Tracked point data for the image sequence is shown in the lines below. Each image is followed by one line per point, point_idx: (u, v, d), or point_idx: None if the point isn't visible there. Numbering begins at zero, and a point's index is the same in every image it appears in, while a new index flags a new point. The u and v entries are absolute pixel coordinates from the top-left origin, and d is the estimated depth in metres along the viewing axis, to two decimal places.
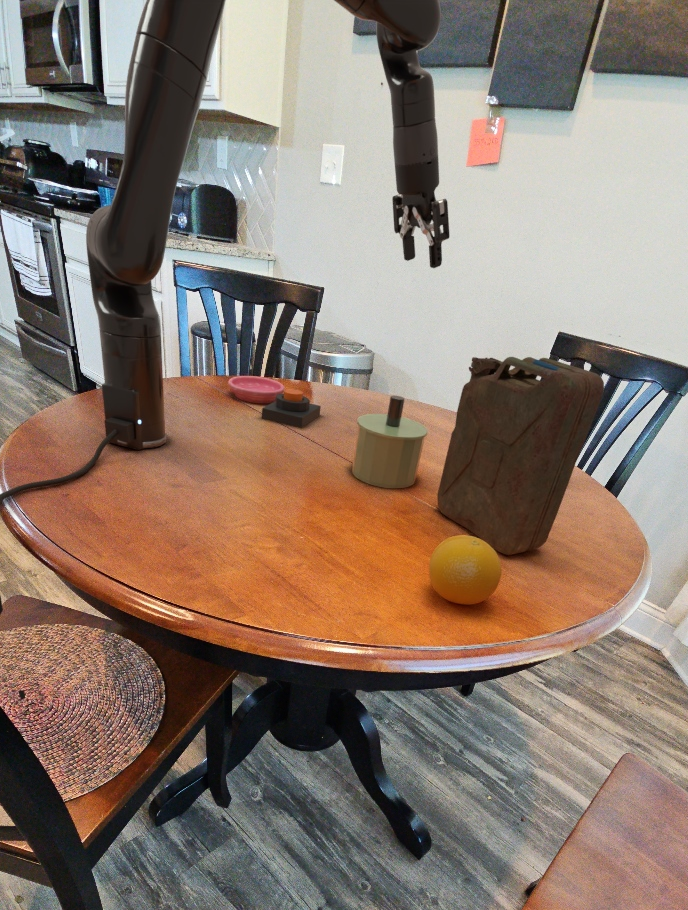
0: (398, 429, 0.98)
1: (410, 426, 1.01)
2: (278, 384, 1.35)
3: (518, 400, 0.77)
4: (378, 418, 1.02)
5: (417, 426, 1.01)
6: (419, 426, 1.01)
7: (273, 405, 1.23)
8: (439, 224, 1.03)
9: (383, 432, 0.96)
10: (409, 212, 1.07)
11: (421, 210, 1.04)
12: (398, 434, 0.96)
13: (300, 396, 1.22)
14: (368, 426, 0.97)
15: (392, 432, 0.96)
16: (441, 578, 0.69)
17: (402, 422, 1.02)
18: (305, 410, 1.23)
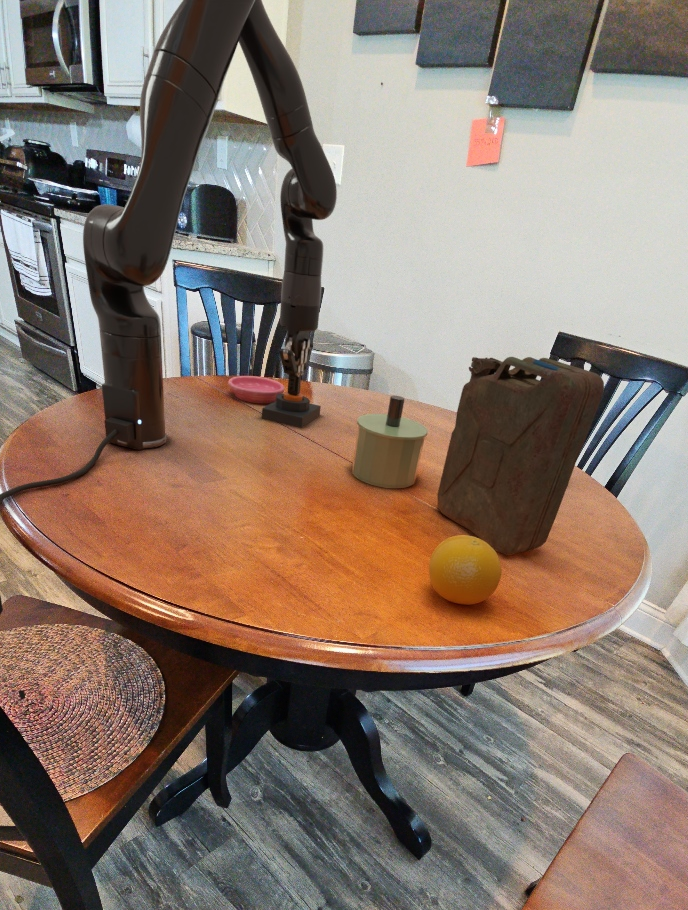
0: (398, 429, 0.98)
1: (410, 426, 1.01)
2: (278, 384, 1.35)
3: (518, 400, 0.77)
4: (378, 418, 1.02)
5: (417, 426, 1.01)
6: (419, 426, 1.01)
7: (273, 405, 1.23)
8: (284, 364, 1.16)
9: (383, 432, 0.96)
10: None
11: None
12: (398, 434, 0.96)
13: (300, 399, 1.22)
14: (368, 426, 0.97)
15: (392, 432, 0.96)
16: (441, 578, 0.69)
17: (402, 422, 1.02)
18: (305, 410, 1.23)
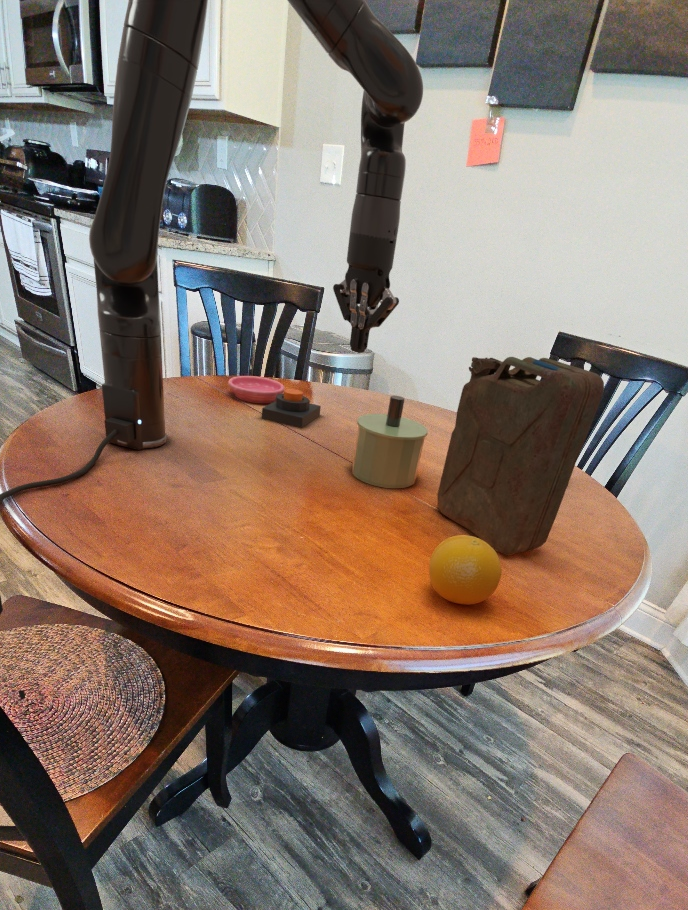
0: (398, 429, 0.98)
1: (410, 426, 1.01)
2: (278, 384, 1.35)
3: (518, 400, 0.77)
4: (378, 418, 1.02)
5: (417, 426, 1.01)
6: (419, 426, 1.01)
7: (273, 405, 1.23)
8: (380, 317, 0.97)
9: (383, 432, 0.96)
10: None
11: (373, 288, 0.95)
12: (398, 434, 0.96)
13: (300, 396, 1.22)
14: (368, 426, 0.97)
15: (392, 432, 0.96)
16: (441, 578, 0.69)
17: (402, 422, 1.02)
18: (305, 410, 1.23)
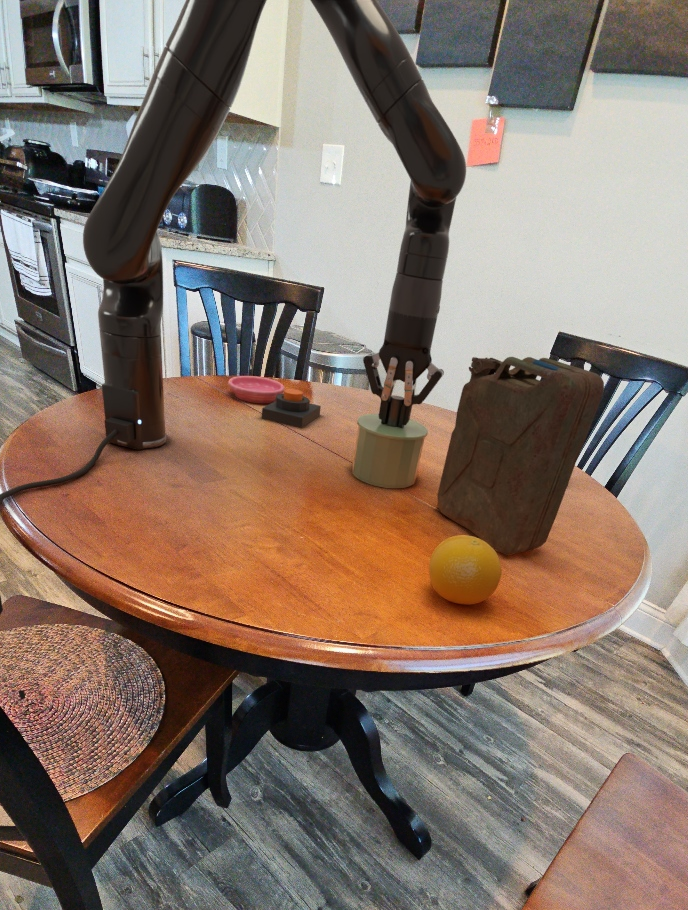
0: (398, 429, 0.98)
1: (410, 426, 1.01)
2: (278, 384, 1.35)
3: (518, 400, 0.77)
4: (378, 418, 1.02)
5: (417, 426, 1.01)
6: (419, 426, 1.01)
7: (273, 405, 1.23)
8: (430, 391, 0.94)
9: (383, 432, 0.96)
10: None
11: (416, 365, 0.93)
12: (398, 434, 0.96)
13: (300, 396, 1.22)
14: (368, 426, 0.97)
15: (392, 432, 0.96)
16: (441, 578, 0.69)
17: None
18: (305, 410, 1.23)
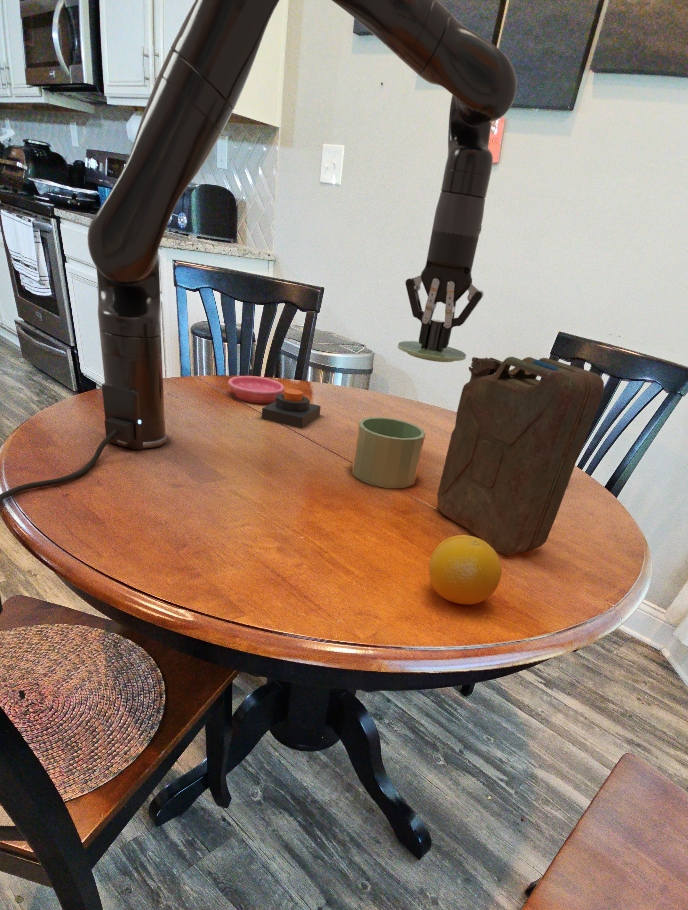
0: (438, 352, 1.02)
1: (449, 351, 1.04)
2: (278, 384, 1.35)
3: (518, 400, 0.77)
4: (418, 344, 1.06)
5: (455, 351, 1.05)
6: (457, 351, 1.05)
7: (273, 405, 1.23)
8: (470, 313, 0.98)
9: (424, 353, 0.99)
10: None
11: (457, 286, 0.96)
12: (439, 355, 1.00)
13: (300, 396, 1.22)
14: (409, 348, 1.01)
15: (433, 354, 1.00)
16: (441, 578, 0.69)
17: None
18: (305, 410, 1.23)
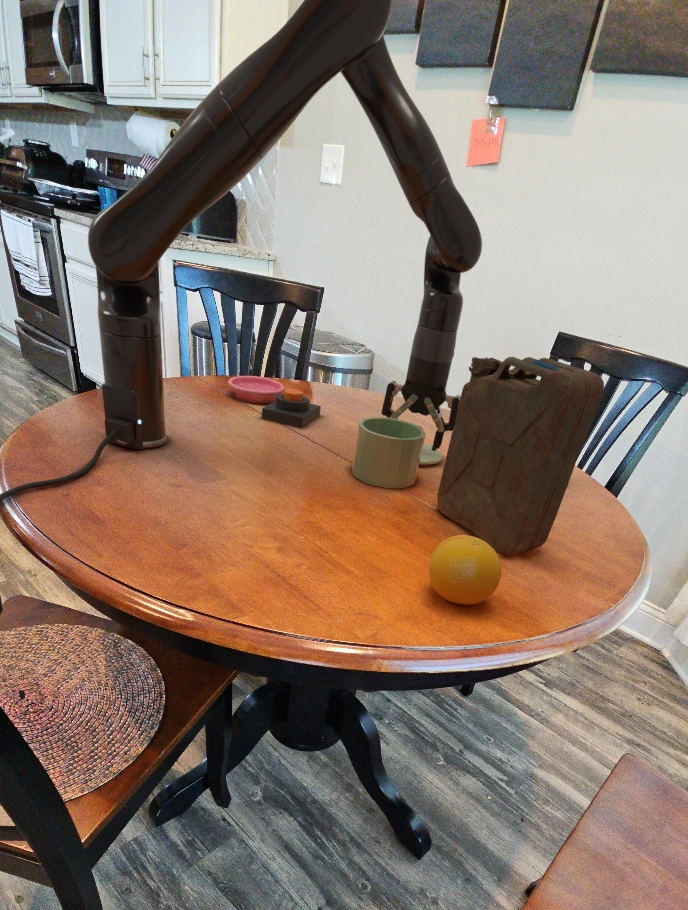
0: None
1: (427, 451, 1.16)
2: (278, 384, 1.35)
3: (518, 400, 0.77)
4: None
5: (433, 451, 1.17)
6: (435, 451, 1.17)
7: (273, 405, 1.23)
8: None
9: None
10: (416, 400, 1.09)
11: (433, 401, 1.08)
12: None
13: (300, 396, 1.22)
14: None
15: None
16: (441, 578, 0.69)
17: None
18: (305, 410, 1.23)
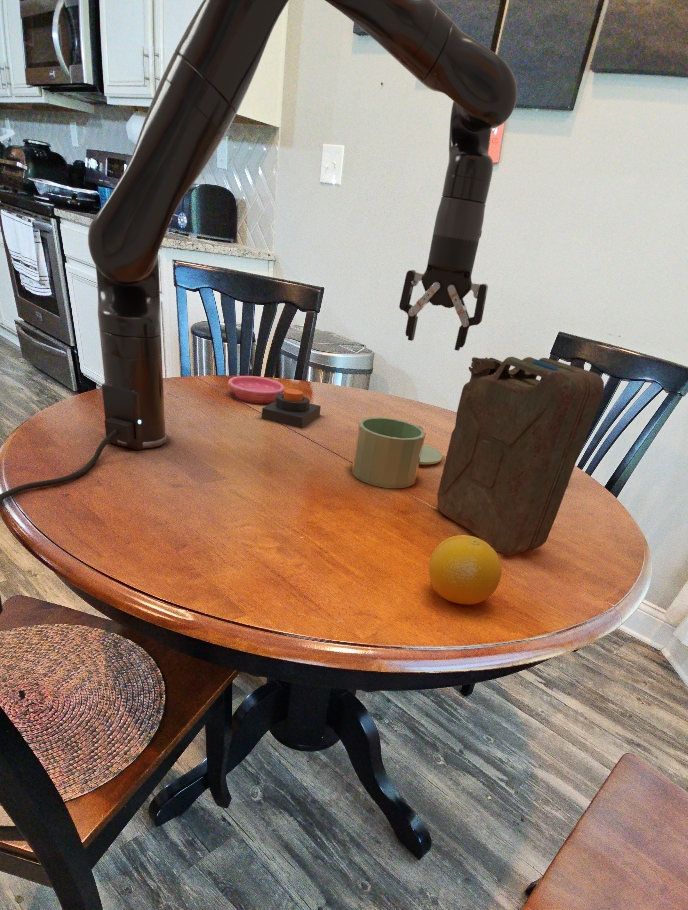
0: None
1: (427, 451, 1.16)
2: (278, 384, 1.35)
3: (518, 400, 0.77)
4: None
5: (433, 451, 1.17)
6: (435, 451, 1.17)
7: (273, 405, 1.23)
8: (483, 307, 0.98)
9: None
10: (438, 290, 0.98)
11: (457, 290, 0.97)
12: None
13: (300, 396, 1.22)
14: None
15: None
16: (441, 578, 0.69)
17: None
18: (305, 410, 1.23)
